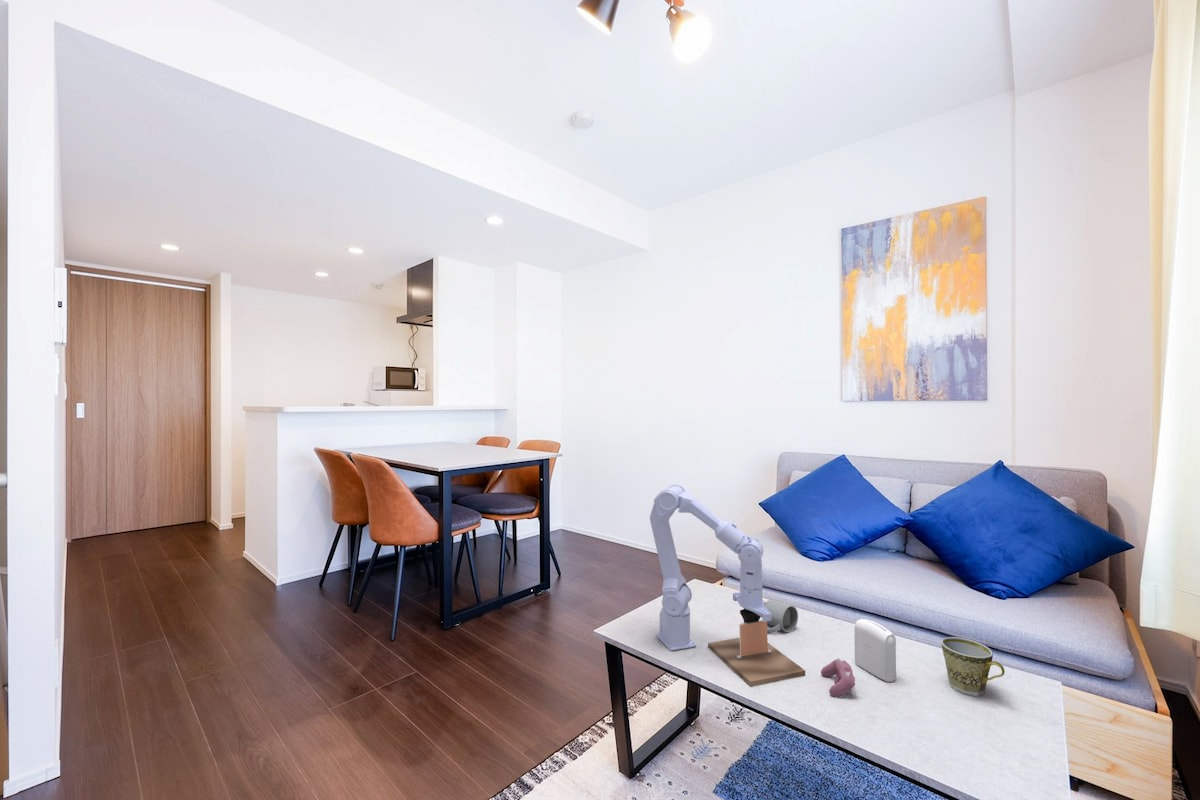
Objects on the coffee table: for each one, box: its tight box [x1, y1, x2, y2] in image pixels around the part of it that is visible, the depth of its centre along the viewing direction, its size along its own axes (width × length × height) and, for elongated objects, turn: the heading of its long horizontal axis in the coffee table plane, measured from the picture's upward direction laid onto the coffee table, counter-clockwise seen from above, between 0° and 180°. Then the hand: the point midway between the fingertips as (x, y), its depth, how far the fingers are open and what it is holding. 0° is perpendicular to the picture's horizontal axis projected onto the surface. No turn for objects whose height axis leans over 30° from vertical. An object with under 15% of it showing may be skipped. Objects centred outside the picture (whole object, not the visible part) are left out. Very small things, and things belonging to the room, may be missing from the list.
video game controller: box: [820, 657, 856, 697], centre depth 121 cm, size 10×5×7 cm, turn 169°
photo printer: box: [854, 618, 897, 683], centre depth 128 cm, size 10×4×12 cm, turn 20°
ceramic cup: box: [941, 636, 1006, 697], centre depth 119 cm, size 13×10×10 cm
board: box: [707, 637, 806, 687], centre depth 133 cm, size 20×16×1 cm
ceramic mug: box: [761, 599, 799, 634], centre depth 152 cm, size 11×8×8 cm
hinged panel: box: [737, 619, 771, 659], centre depth 133 cm, size 9×10×1 cm
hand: (751, 636), depth 134 cm, fingers closed, pressing on hinged panel
